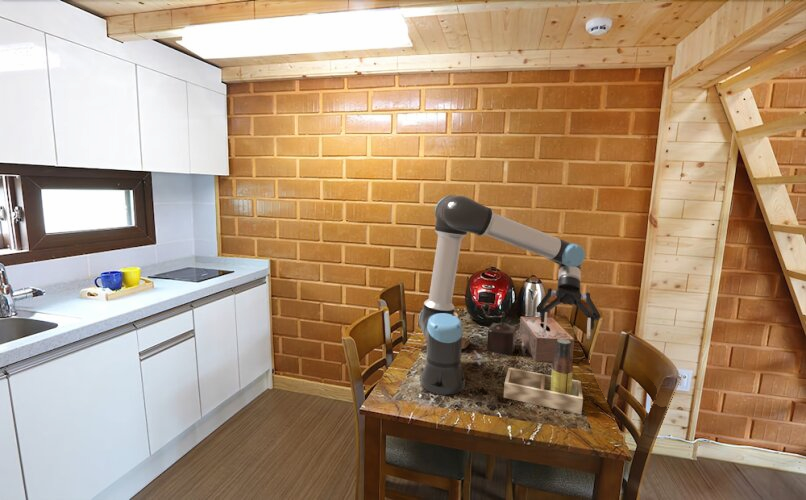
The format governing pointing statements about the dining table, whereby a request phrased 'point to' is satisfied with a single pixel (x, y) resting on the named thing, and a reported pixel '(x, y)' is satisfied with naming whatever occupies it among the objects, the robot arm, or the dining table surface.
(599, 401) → the dining table surface
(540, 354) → the tissue box cover
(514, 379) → the birch caddy
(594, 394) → the dining table surface
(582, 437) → the dining table surface
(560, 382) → the sauce bottle
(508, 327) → the manual coffee grinder
